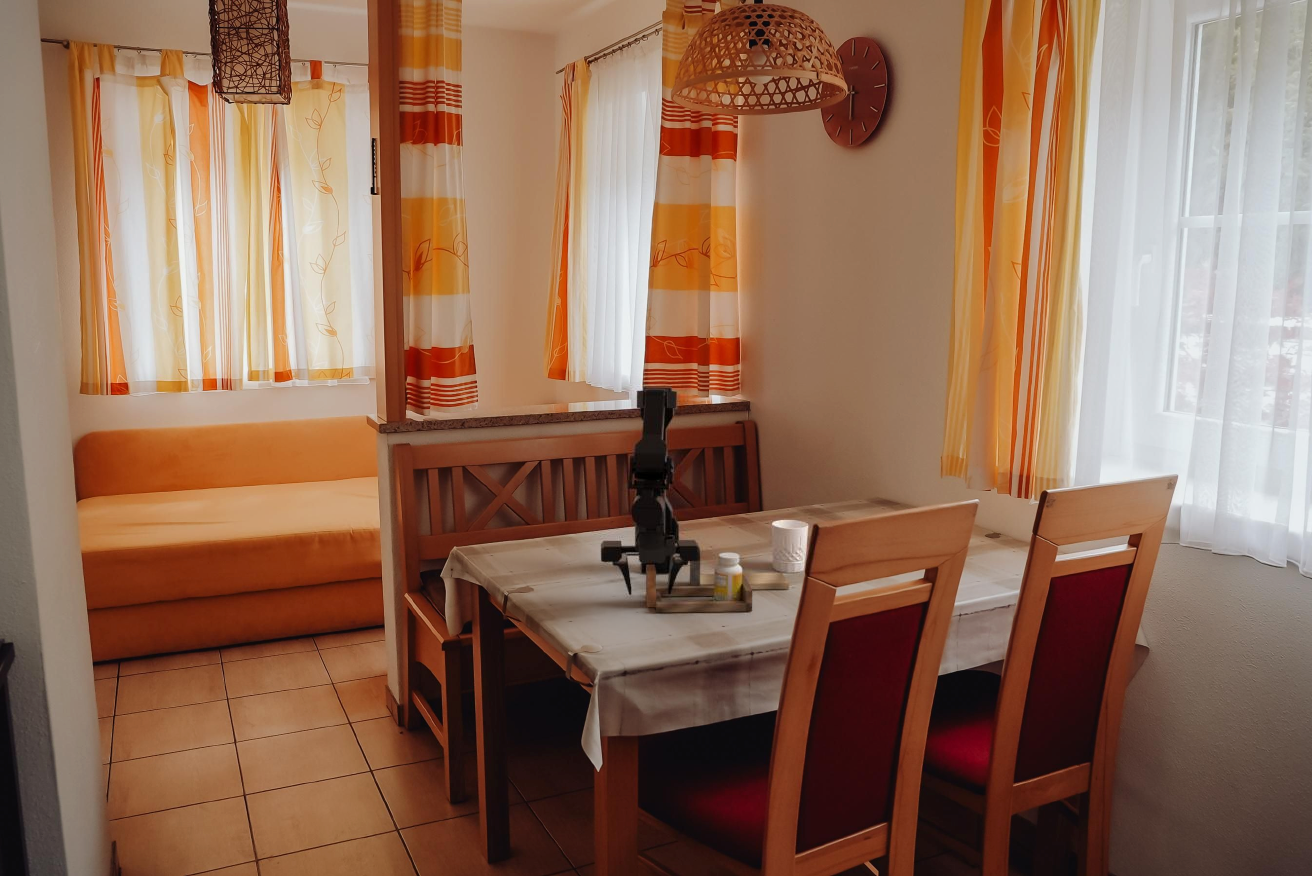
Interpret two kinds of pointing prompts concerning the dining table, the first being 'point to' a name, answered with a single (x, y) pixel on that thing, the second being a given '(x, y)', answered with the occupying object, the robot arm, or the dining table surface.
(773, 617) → the dining table surface
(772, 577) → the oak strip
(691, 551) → the robot arm
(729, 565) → the supplement bottle
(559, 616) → the dining table surface
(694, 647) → the dining table surface
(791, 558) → the white cup
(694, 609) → the wooden tray
